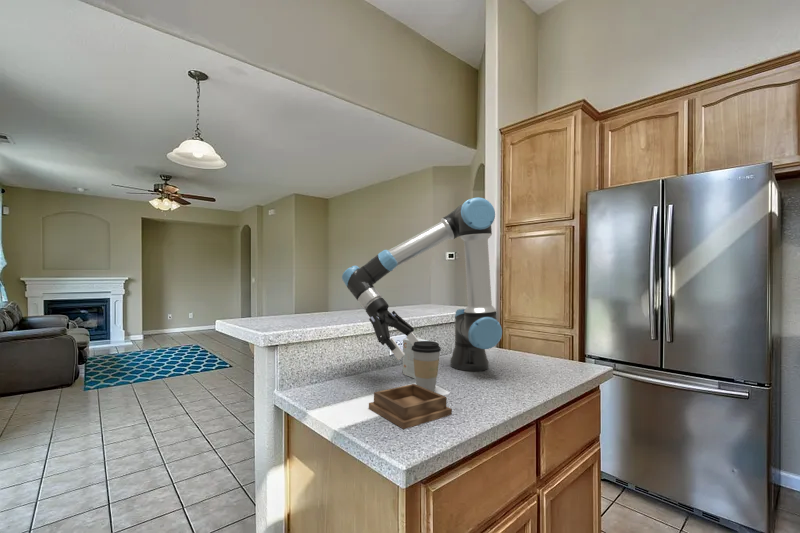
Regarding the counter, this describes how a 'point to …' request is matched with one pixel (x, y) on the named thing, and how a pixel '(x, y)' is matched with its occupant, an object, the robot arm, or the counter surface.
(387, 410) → the wooden tray
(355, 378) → the counter surface
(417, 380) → the coffee cup
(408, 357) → the small box
